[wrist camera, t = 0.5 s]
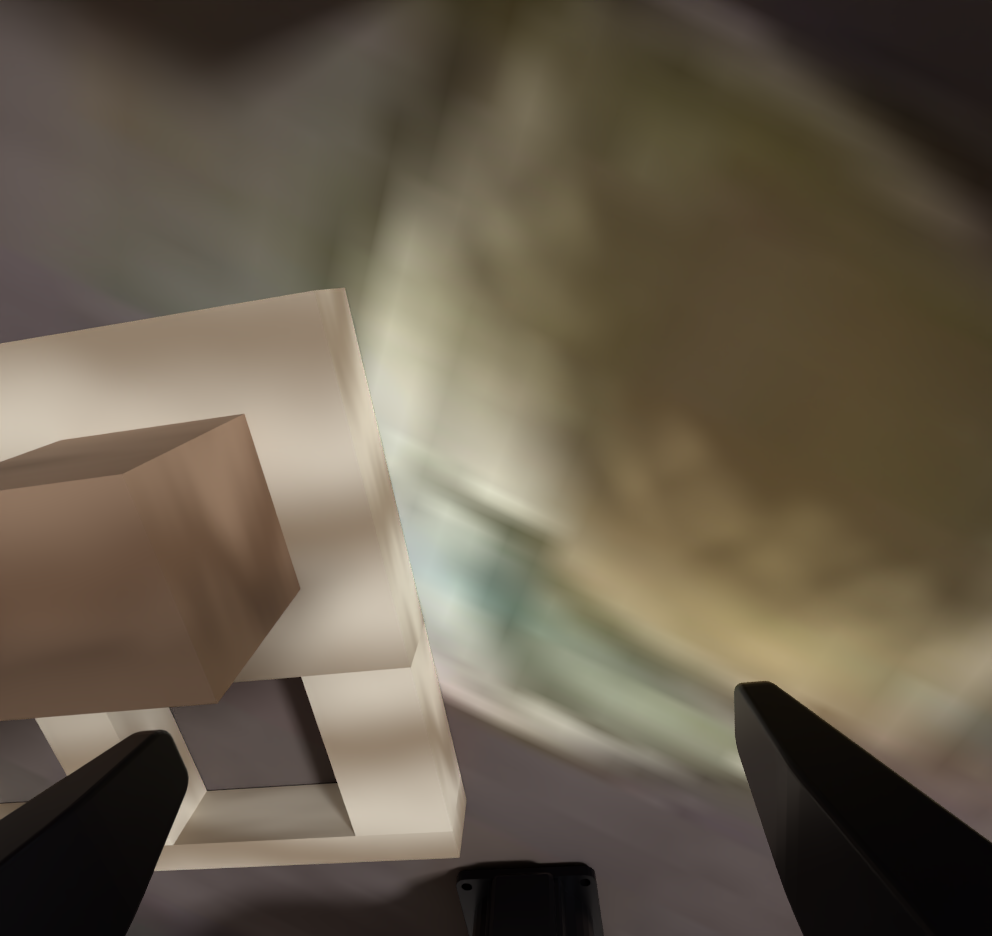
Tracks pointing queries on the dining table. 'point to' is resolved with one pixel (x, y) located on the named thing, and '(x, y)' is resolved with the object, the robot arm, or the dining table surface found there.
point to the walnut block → (136, 569)
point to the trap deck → (315, 557)
